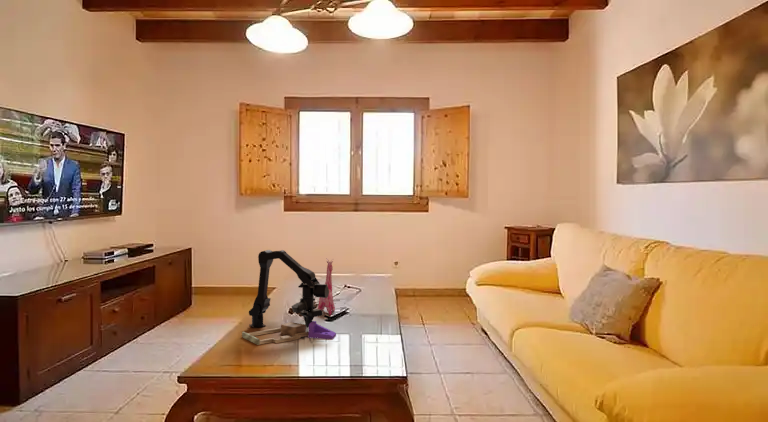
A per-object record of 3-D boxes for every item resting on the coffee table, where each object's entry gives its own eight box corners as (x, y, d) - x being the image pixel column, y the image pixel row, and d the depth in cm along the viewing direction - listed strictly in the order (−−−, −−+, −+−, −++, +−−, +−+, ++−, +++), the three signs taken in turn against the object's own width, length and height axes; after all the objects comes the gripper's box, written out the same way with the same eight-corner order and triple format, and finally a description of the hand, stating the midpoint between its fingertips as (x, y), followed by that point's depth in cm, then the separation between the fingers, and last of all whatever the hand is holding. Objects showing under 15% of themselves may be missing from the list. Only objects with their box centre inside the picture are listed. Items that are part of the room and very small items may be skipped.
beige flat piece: (241, 337, 280) (241, 331, 280) (292, 328, 297) (292, 323, 297) (260, 346, 265) (260, 340, 265) (311, 336, 282) (311, 331, 282)
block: (281, 333, 288) (281, 324, 288) (290, 330, 294) (290, 321, 293) (296, 336, 282) (296, 327, 282) (305, 333, 288) (305, 324, 288)
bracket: (308, 338, 280) (308, 324, 280) (312, 334, 287) (312, 321, 287) (332, 339, 278) (332, 325, 278) (336, 336, 285) (336, 322, 285)
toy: (337, 307, 347) (338, 257, 346) (329, 317, 322) (329, 263, 320) (323, 307, 348) (324, 257, 346) (314, 317, 322) (314, 263, 321)
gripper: (284, 295, 295) (284, 325, 295) (303, 301, 280) (303, 333, 281) (303, 292, 302) (303, 322, 302) (323, 298, 287) (323, 330, 288)
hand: (307, 327), depth 293 cm, fingers closed
